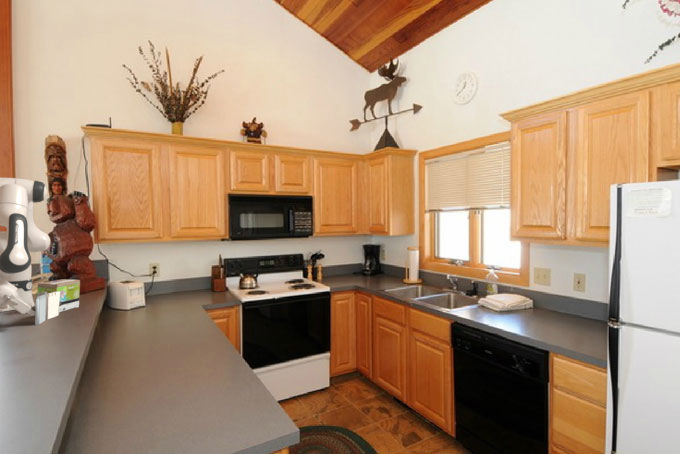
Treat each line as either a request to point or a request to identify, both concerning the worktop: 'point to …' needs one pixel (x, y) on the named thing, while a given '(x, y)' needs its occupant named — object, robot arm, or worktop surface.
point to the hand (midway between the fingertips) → (34, 313)
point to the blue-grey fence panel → (40, 309)
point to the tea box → (62, 292)
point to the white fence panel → (52, 304)
